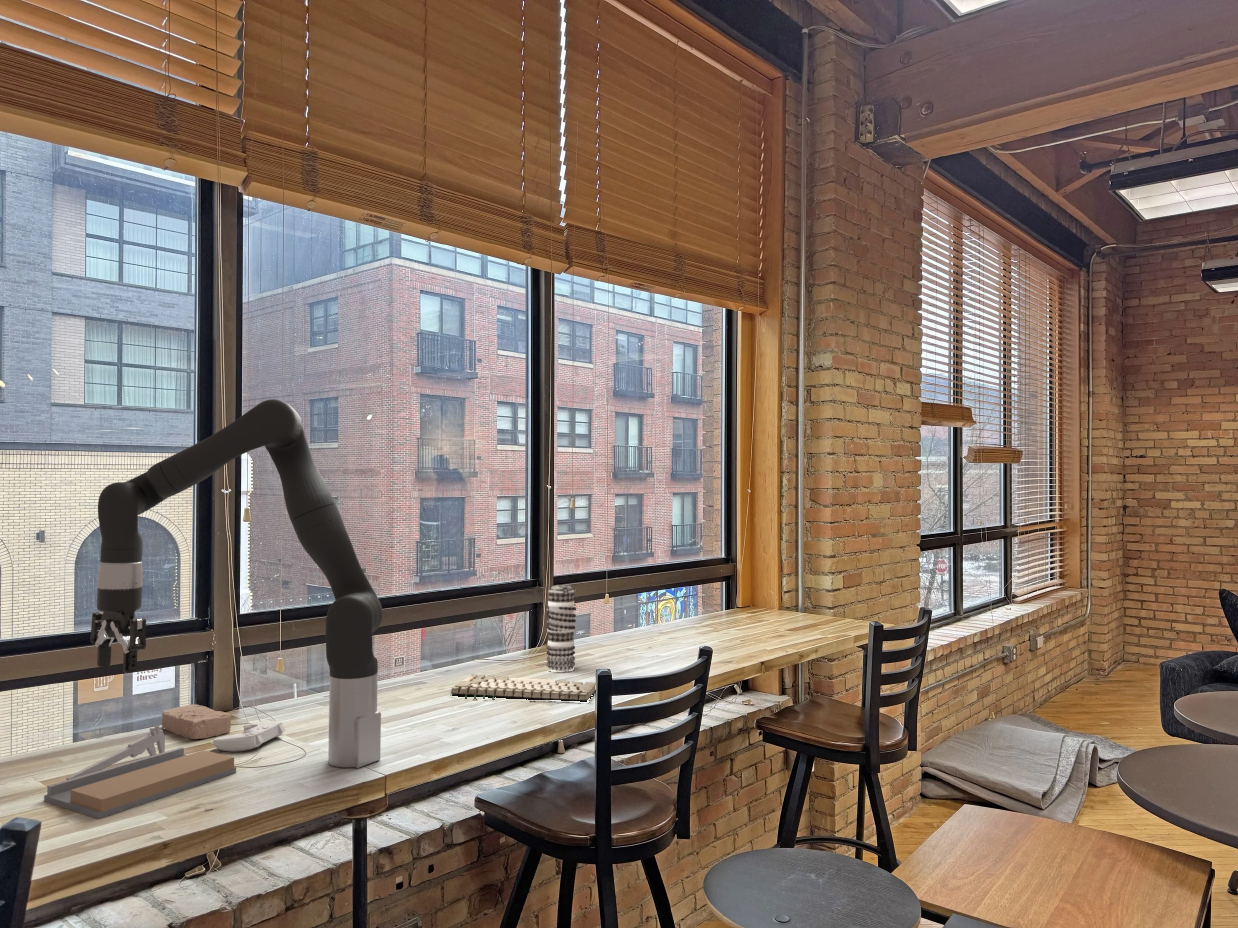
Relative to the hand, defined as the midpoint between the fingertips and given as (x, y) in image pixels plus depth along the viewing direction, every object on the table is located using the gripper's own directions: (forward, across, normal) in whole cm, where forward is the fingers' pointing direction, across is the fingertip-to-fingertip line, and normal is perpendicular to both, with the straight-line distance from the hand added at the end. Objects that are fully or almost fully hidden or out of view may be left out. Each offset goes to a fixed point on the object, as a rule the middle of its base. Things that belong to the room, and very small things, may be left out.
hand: (116, 669), depth 165 cm
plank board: (+19, -14, +2) cm, 24 cm away
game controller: (+19, -9, -24) cm, 32 cm away
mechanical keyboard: (+18, -33, -90) cm, 98 cm away
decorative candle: (+17, -26, -119) cm, 123 cm away
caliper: (+20, 0, 0) cm, 20 cm away
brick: (+20, +10, -24) cm, 33 cm away
